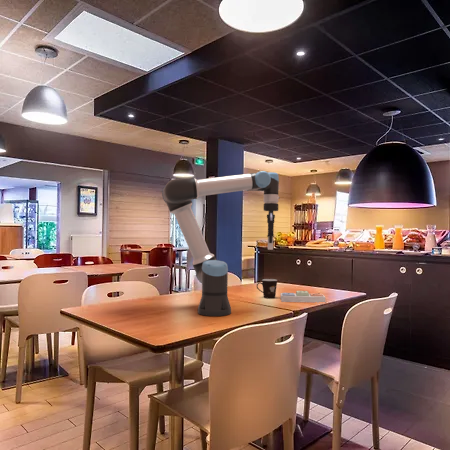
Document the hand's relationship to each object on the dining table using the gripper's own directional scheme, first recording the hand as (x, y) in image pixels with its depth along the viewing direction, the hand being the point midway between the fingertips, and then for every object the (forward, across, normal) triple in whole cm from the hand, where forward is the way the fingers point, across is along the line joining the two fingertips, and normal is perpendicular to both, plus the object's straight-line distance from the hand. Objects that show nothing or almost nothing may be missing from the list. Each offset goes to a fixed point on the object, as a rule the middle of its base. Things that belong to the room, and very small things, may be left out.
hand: (270, 249), depth 198 cm
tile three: (+27, +16, -26) cm, 41 cm away
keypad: (+28, +16, -18) cm, 37 cm away
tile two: (+26, +16, -18) cm, 36 cm away
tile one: (+28, +16, -11) cm, 34 cm away
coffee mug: (+28, +23, +1) cm, 36 cm away
